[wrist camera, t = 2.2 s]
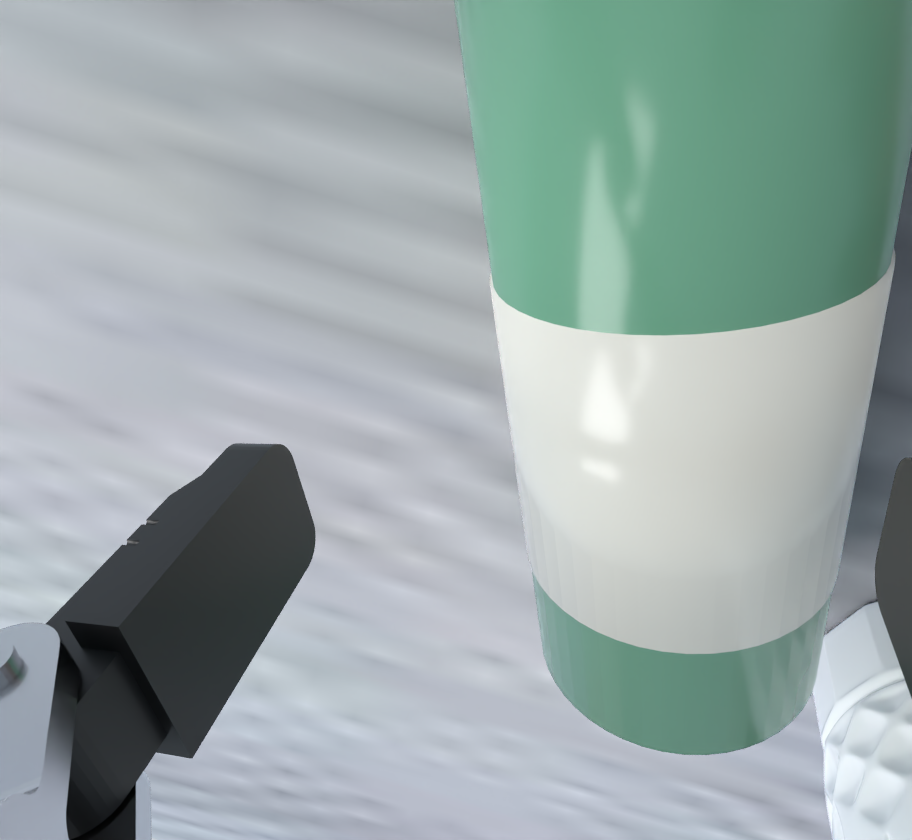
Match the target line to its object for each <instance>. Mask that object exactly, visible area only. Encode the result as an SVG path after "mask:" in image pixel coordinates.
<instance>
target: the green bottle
mask: <svg viewBox="0 0 912 840" xmlns="http://www.w3.org/2000/svg"><path fill="white" fill-rule="evenodd" d="M454 3H455V11H456V18H457V25H458V33H459V40H460V47H461V55H462V62H463V69H464V77H465V84H466V91H467V99H468V106H469V113H470V121H471V128H472V135H473V143H474V150H475V157H476V165H477V172H478V179H479V187H480V194H481V201H482V209H483V216H484V223H485V231H486V238H487V245H488V253H489V260H490V267H491V274H490V279H489V282H490V289H491V296H492V303H493V311H494V318H495V325H496V332H497V339H498V347H499V354H500V361H501V368H502V375H503V383H504V390H505V397H506V404H507V411H508V419H509V426H510V433H511V440H512V447H513V455H514V462H515V469H516V476H517V483H518V491H519V498H520V505H521V512H522V519H523V527H524V534H525V541H526V548H527V555H528V560H529V563H530V566H531V569H532V575H533V582H534V590H535V597H536V604H537V612H538V619H539V626H540V634H541V641H542V647H543V654H544V657H545V660H546V663H547V667H548V669H549V671H550V673H551V675H552V677H553V679H554V681H555V683H556V684H557V686H558V687H559V689H560V690H561V691H562V693H563V694H564V696H565V697H566V698H567V699H568V700H569V701H570V702H571V703H572V704H573V705H574V707H575V708H576V709H578V710H579V711H580V712H581V713H582V714H583V715H585V716H586V717H587V718H588V719H589V720H591V721H592V722H594V723H595V724H597V725H598V726H600V727H601V728H603V729H604V730H606V731H608V732H610V733H612V734H614V735H616V736H618V737H620V738H622V739H624V740H626V741H629V742H632V743H635V744H637V745H640V746H643V747H646V748H650V749H654V750H658V751H662V752H669V753H677V754H684V755H709V754H719V753H727V752H731V751H735V750H740V749H744V748H747V747H750V746H752V745H755V744H757V743H760V742H762V741H764V740H766V739H768V738H770V737H771V736H773V735H775V734H777V733H778V732H780V731H781V730H782V729H783V728H785V727H786V726H787V725H788V724H790V723H791V722H792V721H793V720H794V719H795V718H796V716H797V715H798V714H799V713H800V712H801V711H802V709H803V708H804V706H805V705H806V703H807V701H808V699H809V698H810V696H811V693H812V691H813V688H814V685H815V682H816V677H817V671H818V666H819V660H820V655H821V649H822V643H823V638H824V632H825V627H826V621H827V616H828V610H829V605H830V599H831V593H832V591H833V589H834V586H835V583H836V580H837V577H838V572H839V567H840V561H841V556H842V551H843V545H844V540H845V534H846V529H847V523H848V518H849V512H850V507H851V501H852V496H853V491H854V485H855V480H856V474H857V469H858V463H859V458H860V452H861V447H862V441H863V436H864V430H865V425H866V420H867V414H868V409H869V403H870V398H871V392H872V387H873V381H874V376H875V370H876V365H877V360H878V354H879V349H880V343H881V338H882V332H883V327H884V321H885V316H886V310H887V305H888V299H889V294H890V289H891V283H892V278H893V272H894V267H895V257H896V253H895V251H894V243H895V238H896V232H897V226H898V221H899V215H900V210H901V204H902V199H903V193H904V188H905V182H906V176H907V171H908V165H909V160H910V154H911V149H912V0H454Z"/></svg>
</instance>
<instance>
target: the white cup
mask: <svg viewBox="0 0 912 840" xmlns="http://www.w3.org/2000/svg"><path fill="white" fill-rule="evenodd" d="M813 697H814V702H815V708H816V714H817V719H818V725H819V731H820V736H821V742H822V747H823V751H824V791H825V798H826V805H827V812H828V818H829V823H830V828H831V834H832V840H912V698H911V695H910V693H909V690H908V687H907V684H906V681H905V679H904V676H903V673H902V670H901V667H900V665H899V662H898V659H897V656H896V654H895V651H894V648H893V645H892V642H891V640H890V637H889V634H888V631H887V628H886V626H885V623H884V620H883V617H882V615H881V612H880V608H879V605H878V601H877V602H874V603H871V604H867V605H865V606H863V607H862V608H860V609H859V610H858V611H856V612H855V613H854V614H852V615H851V616H850V617H848V618H847V619H846V620H844V621H843V622H842V623H840V624H839V625H838V626H837V627H835V628H834V629H833V630H831V631H830V632H829V633H827V634H826V635H825V636H824V638H823V643H822V649H821V655H820V660H819V666H818V671H817V677H816V682H815V685H814V688H813Z"/></svg>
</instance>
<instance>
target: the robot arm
mask: <svg viewBox="0 0 912 840" xmlns="http://www.w3.org/2000/svg"><path fill="white" fill-rule="evenodd" d="M314 548H315V527H314V523H313V520H312V516H311V513H310V510H309V507H308V504H307V501H306V498H305V494H304V491H303V488H302V485H301V482H300V479H299V476H298V472H297V469H296V466H295V463H294V460H293V457H292V455H291V453H290V451H289V450H288V449H287V448H286V447H285V446H284V445H281V444H237V443H236V444H233V445H231V446H229V447H228V448H227V449H226V450H225V451H224V452H223V453H222V454H221V455H220V456H219V457H218V458H217V459H216V460H215V461H214V463H213V464H212V465H211V466H210V467H209V468H208V469H207V470H206V471H205V472H204V473H203V474H202V475H201V476H199V477H198V478H196V479H195V480H193V481H192V482H190V483H188V484H187V485H185V486H184V487H182V488H181V489H179V490H178V491H176V492H175V493H173V494H171V495H170V496H169V497H168V498H167V499H166V500H165V501H164V502H163V503H162V504H161V505H160V506H159V507H158V508H157V509H156V510H155V511H154V512H153V513H152V515H151V516H150V517H149V518H148V519H147V523H146V525H141V526H140V527H139V528H138V529H137V530H136V531H135V532H134V533H133V534H132V535H131V536H130V537H129V538H128V539H127V545H122V546H121V547H120V548H119V549H118V550H117V551H116V552H115V553H114V554H113V555H112V556H111V557H110V558H109V559H108V560H107V561H106V562H105V563H104V564H103V565H102V566H101V567H100V568H99V569H98V570H97V572H96V573H95V574H94V575H93V576H92V577H91V578H90V579H89V580H88V581H87V582H86V583H85V584H84V585H83V586H82V587H81V588H80V589H79V590H78V591H77V592H76V593H75V594H74V595H73V596H72V597H71V598H70V600H69V601H68V602H67V603H66V604H65V605H64V606H63V607H62V608H61V609H60V610H59V611H58V612H57V613H56V614H55V615H54V616H53V617H52V618H51V619H50V620H49V621H48V622H47V623H46V624H43V623H23V624H18V625H13V626H10V627H7V628H3V629H1V630H0V840H152V830H151V787H150V781H149V779H148V776H147V774H146V773H145V771H144V769H145V768H146V766H147V765H148V763H149V762H150V760H151V759H152V757H153V756H154V754H155V753H156V752H157V753H163V754H169V755H175V756H180V757H186V758H193V756H194V755H195V753H196V751H197V750H198V748H199V746H200V745H201V743H202V741H203V740H204V738H205V736H206V735H207V733H208V731H209V730H210V728H211V726H212V725H213V723H214V722H215V720H216V718H217V717H218V715H219V713H220V712H221V710H222V708H223V707H224V705H225V703H226V702H227V700H228V698H229V697H230V695H231V693H232V692H233V690H234V689H235V687H236V685H237V684H238V682H239V680H240V679H241V677H242V675H243V674H244V672H245V670H246V669H247V667H248V665H249V664H250V662H251V660H252V659H253V657H254V655H255V654H256V652H257V651H258V649H259V647H260V646H261V644H262V642H263V641H264V639H265V637H266V636H267V634H268V632H269V631H270V629H271V627H272V626H273V624H274V622H275V621H276V619H277V617H278V616H279V614H280V613H281V611H282V609H283V608H284V606H285V604H286V603H287V601H288V599H289V598H290V596H291V594H292V593H293V591H294V589H295V588H296V586H297V584H298V583H299V581H300V580H301V578H302V576H303V575H304V573H305V571H306V570H307V568H308V566H309V564H310V562H311V559H312V556H313V553H314ZM875 585H876V594H877V600H878V605H879V608H880V612H881V615H882V617H883V620H884V623H885V626H886V628H887V631H888V634H889V637H890V640H891V642H892V645H893V648H894V651H895V654H896V656H897V659H898V662H899V665H900V667H901V670H902V673H903V676H904V679H905V681H906V684H907V687H908V690H909V693H910V695H911V698H912V458H904V459H903V460H902V461H901V462H900V463H899V465H898V467H897V470H896V473H895V477H894V481H893V486H892V490H891V495H890V499H889V503H888V508H887V512H886V517H885V521H884V526H883V530H882V534H881V539H880V543H879V548H878V552H877V557H876V565H875Z"/></svg>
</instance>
